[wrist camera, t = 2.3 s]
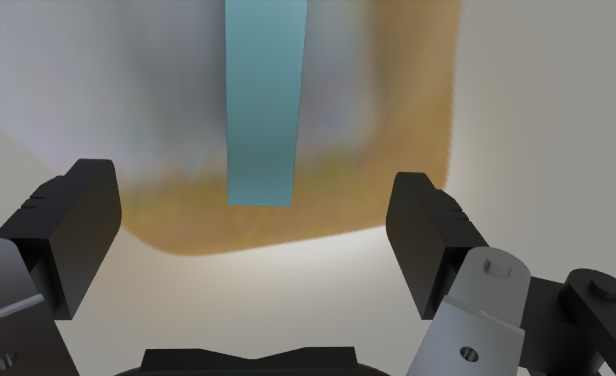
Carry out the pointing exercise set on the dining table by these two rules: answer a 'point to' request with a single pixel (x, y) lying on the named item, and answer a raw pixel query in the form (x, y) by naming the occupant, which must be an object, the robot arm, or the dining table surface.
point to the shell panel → (263, 98)
